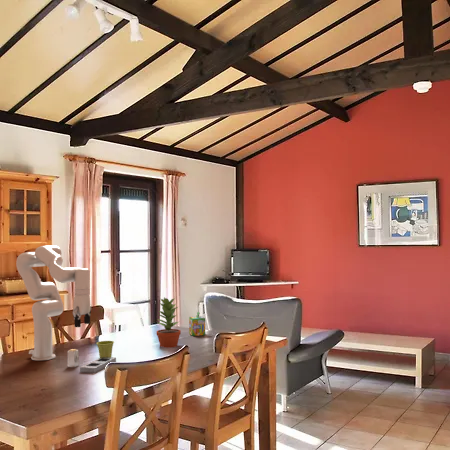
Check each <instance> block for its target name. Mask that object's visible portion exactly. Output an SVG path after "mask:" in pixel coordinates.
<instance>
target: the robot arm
mask: <svg viewBox="0 0 450 450" xmlns="http://www.w3.org/2000/svg"><path fill="white" fill-rule="evenodd" d="M63 260H64V258H63V257H62V249H61V248H60V247H59V246H58V245H41V246H38V247H37V248H35V250H34V251H26V252H22V253H20V254H19V255H18V256H17V258H16V262H15V263H16V270H17V271H18V274H19V275H20V277H21V279H22V281H23V283H24V286H25V289H26V291H27V294H28V296H29V298H30V299H31V300H32V301H36V302H34V303H33V304H32V307H31V314H32V318H33V345H34V347H33V348H34V349H30V350H28V354H29V355H32V356H30V358H31V360H32V361H38V362H39V361H49V360H53V359H56V354H55V353H53V324H52V321H51V320H50V317H55V316H60V315H61V314H62V313H63V312H64V309H65V308H64V303H63V299H62V298H61V294H60V293H59V292H60V291H59V290H58V287H57V286H56V284H55V283H54V282H52V281H45V282H43V281H42V279H41V278H40V275H39V274H38V273H37V271H36V270H35V269H33V268H36V267H45V266H46V267H47V268H48V272H49V275H50V277H51V278H53V279H54V280H56V281H57V282H59V283H64V284H65V283H67V284H68V283H74V298H73V304H72V305H73V307H72V308H73V309H72V316H73V320H74V328H82V327H81V326H82V323H81V321H82V320H81V317H82V316H83V315H84V317H83V318H84V319H83V322H84V324H85V325H90V324H91V313H92V308H93V307H92V306H91V296H90V295H91V294H90V293H91V292H90V291H91V288H90V287H91V282H90V281H91V278H90V277H91V276H90V269H89V268H87V267H85V268H84V267H83V268H81V267H77V266H76V267H61V266H62V264H63V262H64V261H63Z"/></svg>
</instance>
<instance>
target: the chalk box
mask: <svg viewBox="0 0 450 450" xmlns="http://www.w3.org/2000/svg"><path fill="white" fill-rule="evenodd" d="M200 314H201V313H200V312H198V311H197V312H196V316H189V317H188V321H189V322H188V323H189V324H188V334H189V335H190V336H192V337H200V336H206V318H205V317H204V316H202V315H201V316H200Z"/></svg>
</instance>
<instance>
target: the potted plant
mask: <svg viewBox="0 0 450 450" xmlns="http://www.w3.org/2000/svg"><path fill="white" fill-rule="evenodd" d="M159 299H160V301H161V302H162V303H160V302H159V305H160V306H161V310H162V311H161V310H158V312H159V313H160V314H157V315H158V316H159V317H160V318H163V319H165V320H163V319H160V318H157V319H156V320H157V321H159V322H157V324H159V325H161V326H162V327H164V328H163V329H158V330H157V331H156V336H157V339H158V343H159V346H160V348H166V349H167V348H176V347H178V343H179V339H180V335H181V329H178V328H174V326H175V325H177V324H179V321H175V322H174V321H173V319H175V317H177V314H175V311H176V309H178V307H179V306H176V303H175V304H174V300H175V299H176V297H174V298H171V300H169V299H168V297H163V298H159ZM174 314H175V315H174Z"/></svg>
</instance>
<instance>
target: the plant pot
mask: <svg viewBox="0 0 450 450" xmlns="http://www.w3.org/2000/svg"><path fill="white" fill-rule="evenodd" d="M114 343H115V342H114V340H101V341H97V342H96V345H97V349H98V355H99V358H101V357H112V356H113V355H112V353H113V346H114Z"/></svg>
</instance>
